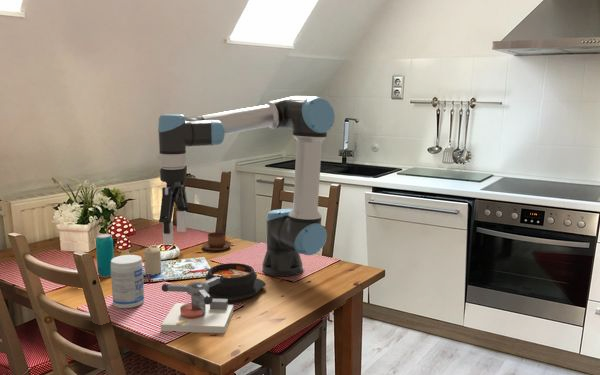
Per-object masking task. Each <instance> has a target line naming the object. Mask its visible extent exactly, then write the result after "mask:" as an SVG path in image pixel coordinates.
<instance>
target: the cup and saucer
mask: <svg viewBox="0 0 600 375" xmlns="http://www.w3.org/2000/svg"><path fill="white" fill-rule="evenodd" d="M231 246H232V243H231V241H228V240H226V233H225V232H220V231H216V232H213V231H212V232H210V233H208V234H207V241H205V242H203V243H202V247H203V248H204V249H205V250H209V251H217V252H219V251H223V250H227V249H229V248H230V247H231Z"/></svg>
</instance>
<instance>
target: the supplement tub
mask: <svg viewBox="0 0 600 375" xmlns="http://www.w3.org/2000/svg"><path fill="white" fill-rule="evenodd" d="M110 280H111V290H112V291H111V293H112V294H111V295H112V303H113V306H114V307H115V308H118V309H133V308H137V307H139V306H141V305H142V304H143V303H144V302H145V290H144V289H145V286H144V267H143V258H142V256H140V255H137V254H123V255H118V256H114V258H113V259H112V260H111V277H110Z"/></svg>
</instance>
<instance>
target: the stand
mask: <svg viewBox="0 0 600 375" xmlns="http://www.w3.org/2000/svg"><path fill="white" fill-rule="evenodd" d="M184 304H186V303H185V302H184V303H183V302H182V303H181V302H179V303H177V302H176V303H174V305H173V307H172V308H171V309H170V310H169V312H168V313H167V315H166V317H165V318H164V320H162V322H161V324H160V332H170V331H176V333H206V334H208V333H210V334H211V333H212V334H225V333H226V331H227V328H228V327H229V326H228V325H229V323H230V320H231V319H232V317H233V316H232V315H233V313H234V311H235V310H234V304H229V301H228V299H213V301H212V303H211V304H209V305H207V304H205V306H206V314H205V315H203V316H200V317H197V318H185V317H182V316H181V314H180V308H181V306H182V305H184Z"/></svg>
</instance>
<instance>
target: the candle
mask: <svg viewBox="0 0 600 375" xmlns="http://www.w3.org/2000/svg"><path fill="white" fill-rule="evenodd" d="M161 254H162V253H161V249H160V248H159V247H158V246H157V245H153V246H152V245H150V246H148V247H147V248H146V249H145V250H144V261H145V262H144V264H145V265H144V266H145V274H146V273H148V274H157V275H160V274H161V273H162V260H161V259H162V257H161ZM159 273H160V274H159Z"/></svg>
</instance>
